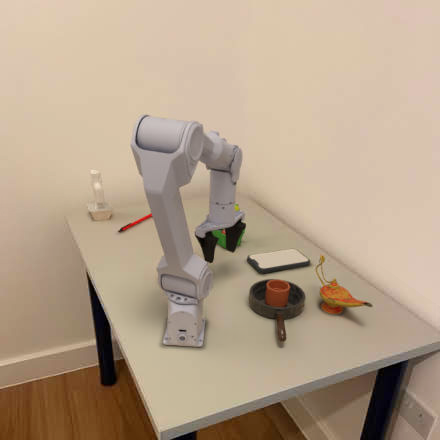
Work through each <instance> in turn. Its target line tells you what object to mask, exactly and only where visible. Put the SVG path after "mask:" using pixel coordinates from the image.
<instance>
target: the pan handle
mask: <svg viewBox="0 0 440 440" xmlns="http://www.w3.org/2000/svg"><path fill="white" fill-rule="evenodd" d="M275 322H276V323H275V324H276V332H277V339H278V341H279V342H280V343H285V342H286V341H287V331H286V324H285V319H284V316H283V312H282V310H276V319H275Z"/></svg>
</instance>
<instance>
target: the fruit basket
mask: <svg viewBox="0 0 440 440" xmlns="http://www.w3.org/2000/svg"><path fill="white" fill-rule="evenodd" d="M237 210H240V211H241V208H240V207H239V204H238V203H235V211H237ZM245 232H246V228H245V229H244V231H243V232H242V234H241V236H240V238H239V241H238V243H237V246H240V245H241V242H242V239H243V236H244V234H245ZM212 234H214V236H215V237H218V238H219V240H218V242H217V245H219V246H220V247H222V248H224V249H225V250H226V235H225V228H223V229H218V230H215V231H213V232H212Z"/></svg>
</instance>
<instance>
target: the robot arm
mask: <svg viewBox="0 0 440 440" xmlns="http://www.w3.org/2000/svg"><path fill="white" fill-rule="evenodd" d="M130 148H131V149H130V150H131V152H132V155H133V158H134V161H135V164H136V168H137V171H138V174H139V175H140V177H141V178H142V184H143V189H144V193H145V197H146V200H147V204H148V206H149V209H150V214H151V213H152V216H151V217H152V219H153V223H154V226H155V229H156V232H157V235H158V239H159V241H160V245H161V248H162V252H163V255H162V257H161V258H160V260H159V262H158V263H157V266H156V272H157V285H158V287H159V289H160V290H161V291H163V294H164V295H163V296H165V297H167V319H166V320H167V324H166V329H165V332H164V337H163V340H162V344H163V345H164V346H180V347H181V346H182V347H195V348H196V347H199V348H201V347H203V344H204V338H205V327H206V318H204V300H205V299H207V298H208V296H209V295H210V293H211V291H212V287H213V283H214V274H213V272H212V270H211V269H210V268H209V265H208V264H213V263H214V260H215V252H216V248H217V245H218V243H217V242H218V240H219V238H218V237H215V236H214V234H212V232H213V231H215V230H218V229H223V228H225V235H226V249H225V250H226V251H228V252H229V253H232V254H233V253H235V252H236V249H237V246H238V245H237V243H238V241H239V238H240V236H241V234H242V232H243V231H244V229H246V228H247V223H245V222H244V221H245V219H246V212H245V211H243V210H241V209H240V210H237V211H235V204H236V201H237V200H236V199H237V183H238V181H239V179H240V174H241V173H240V171H241V168H242V164H243V158H244V157H243V150H242V148H241V147H239V145H238V144H232V143H229V142H228V140H227V138H225V137H221V136H220V131H219V132H218V130H217V131H216V130H210V131H209V132H205V131H204V124H203V123H201V122H199V121H197V120H181V119H174V118H167V117H159V116H152V115H149V114H141V115H140V116H139V117H137V120H136V122H135V123H134V124H133V128H132V135H131V139H130ZM199 162H200V163H202V164H204V165H205V168H206V170H207V171H209V195H208V214H206V215H205V219H204V221H202V222H201V224H199V225H197V226H195V231H194V237H195V238H196V241H198V244H199V245H200V248H201V251H202V255H203V258H201V257H200V256H199V255H197V254H196V253H195V251H194V246H193V241H192V238H191V233H190V229H189V225H188V222H187V221H188V220H187V217H186V213H185V208H184V204H183V200H182V195H181V191H180V188H182V187H184V186H186V185H188V184H190V183H191V181H192V179H193V176H194V174H195V172H196V169H197V166H198V164H199Z"/></svg>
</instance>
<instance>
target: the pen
mask: <svg viewBox="0 0 440 440" xmlns="http://www.w3.org/2000/svg"><path fill="white" fill-rule="evenodd" d="M151 217H153V216H152V213H151V212H150V213H149V214H147V215H145V216H143V217H141V218H139V219H136V220H135V221H132V222H129V223H128V224H126V225H124V226H122V227H120V229H119V230H117V232H118V233H120V232H124V231H126V230H128V229H130V228H132V227H134V226H135V225H137V224H139V223H141V222H143V221H146V220H147V219H150V218H151Z"/></svg>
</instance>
